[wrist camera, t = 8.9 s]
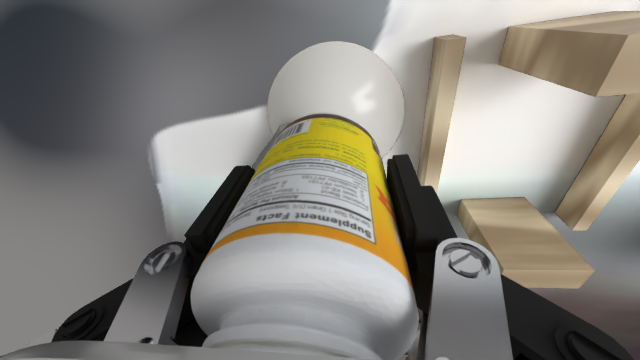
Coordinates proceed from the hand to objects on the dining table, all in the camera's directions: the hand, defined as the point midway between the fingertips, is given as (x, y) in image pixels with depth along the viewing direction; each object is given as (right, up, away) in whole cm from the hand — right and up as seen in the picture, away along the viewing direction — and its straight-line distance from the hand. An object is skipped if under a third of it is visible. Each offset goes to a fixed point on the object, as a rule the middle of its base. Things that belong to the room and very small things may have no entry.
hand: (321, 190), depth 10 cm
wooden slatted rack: (+14, +3, +7) cm, 16 cm away
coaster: (+1, +5, +7) cm, 9 cm away
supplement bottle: (0, +2, +2) cm, 3 cm away
